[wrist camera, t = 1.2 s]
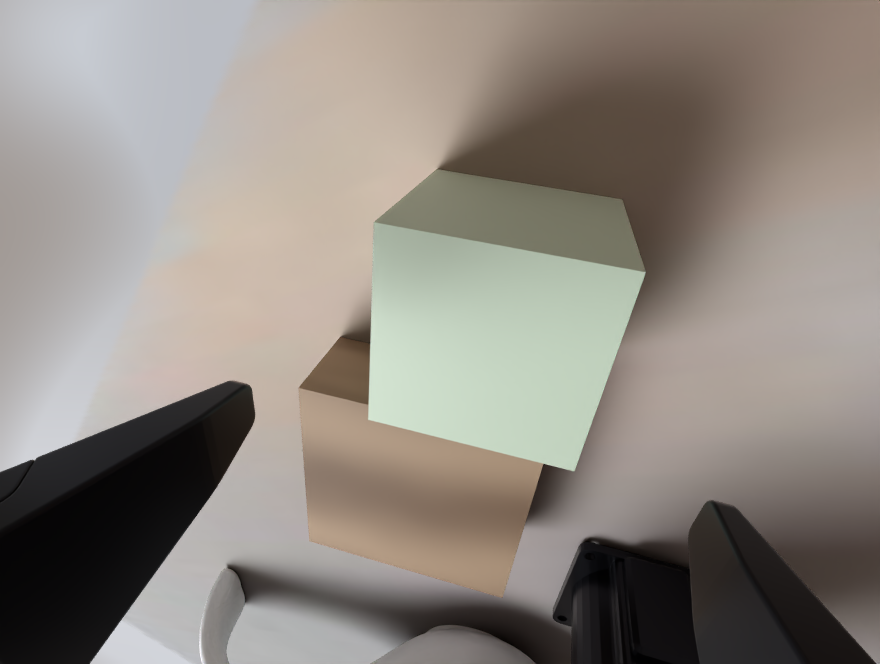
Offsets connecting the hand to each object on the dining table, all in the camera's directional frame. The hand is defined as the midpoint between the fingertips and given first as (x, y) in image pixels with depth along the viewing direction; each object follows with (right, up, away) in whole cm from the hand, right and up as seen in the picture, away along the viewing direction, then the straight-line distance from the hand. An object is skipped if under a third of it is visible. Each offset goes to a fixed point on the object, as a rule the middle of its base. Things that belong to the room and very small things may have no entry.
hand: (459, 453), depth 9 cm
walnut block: (-1, -2, +13) cm, 13 cm away
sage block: (+2, +5, +8) cm, 9 cm away
